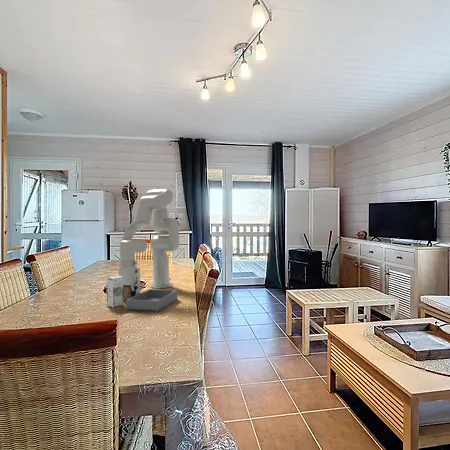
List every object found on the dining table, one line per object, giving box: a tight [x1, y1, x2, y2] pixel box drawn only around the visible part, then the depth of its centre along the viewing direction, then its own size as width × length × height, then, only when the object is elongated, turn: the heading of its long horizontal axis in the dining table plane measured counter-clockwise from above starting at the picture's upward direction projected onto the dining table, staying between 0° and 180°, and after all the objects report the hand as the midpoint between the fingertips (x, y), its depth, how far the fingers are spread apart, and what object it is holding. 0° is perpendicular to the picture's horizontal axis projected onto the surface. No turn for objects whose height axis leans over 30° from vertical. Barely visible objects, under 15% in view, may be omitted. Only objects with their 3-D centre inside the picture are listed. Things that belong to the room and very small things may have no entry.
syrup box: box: [106, 274, 124, 309], centre depth 157 cm, size 6×6×14 cm
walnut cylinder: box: [123, 286, 132, 302], centre depth 169 cm, size 5×5×7 cm
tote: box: [125, 288, 178, 313], centre depth 158 cm, size 22×16×5 cm
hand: (128, 297), depth 169 cm, fingers closed on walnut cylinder, 4 cm apart
